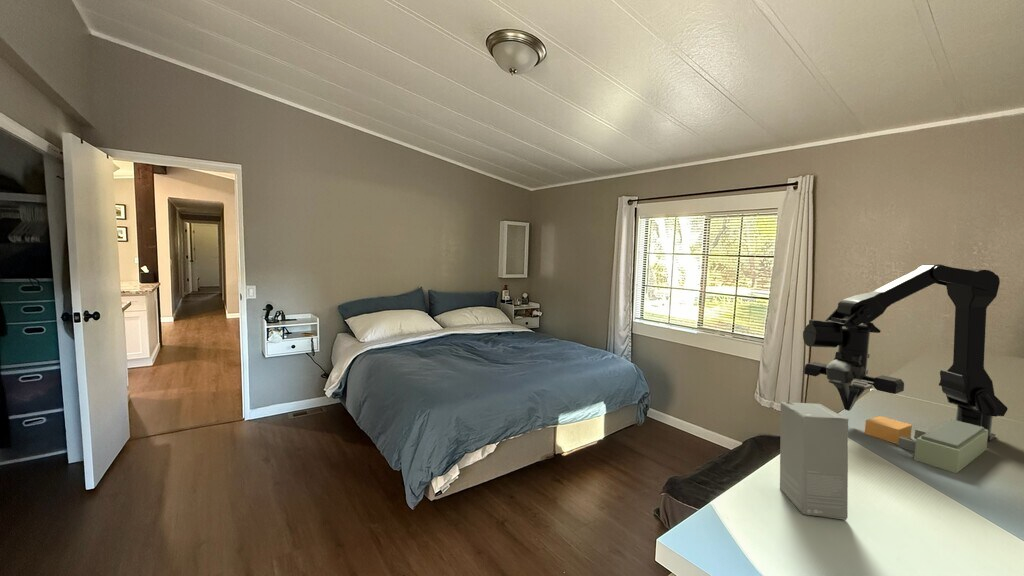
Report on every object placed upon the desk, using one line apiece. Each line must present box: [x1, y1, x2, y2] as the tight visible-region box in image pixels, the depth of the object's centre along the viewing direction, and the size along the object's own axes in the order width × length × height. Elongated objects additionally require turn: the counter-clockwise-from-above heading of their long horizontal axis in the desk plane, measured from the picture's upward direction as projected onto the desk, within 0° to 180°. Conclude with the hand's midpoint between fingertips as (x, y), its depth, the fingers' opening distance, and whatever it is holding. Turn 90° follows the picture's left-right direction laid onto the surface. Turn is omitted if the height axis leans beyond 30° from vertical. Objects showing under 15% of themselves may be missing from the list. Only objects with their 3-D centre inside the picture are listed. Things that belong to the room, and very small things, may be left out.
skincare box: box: [779, 401, 849, 521], centre depth 66 cm, size 8×7×16 cm
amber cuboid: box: [864, 415, 913, 445], centre depth 95 cm, size 7×6×4 cm
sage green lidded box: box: [897, 419, 988, 474], centre depth 88 cm, size 22×10×5 cm, turn 121°
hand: (847, 410), depth 102 cm, fingers closed
